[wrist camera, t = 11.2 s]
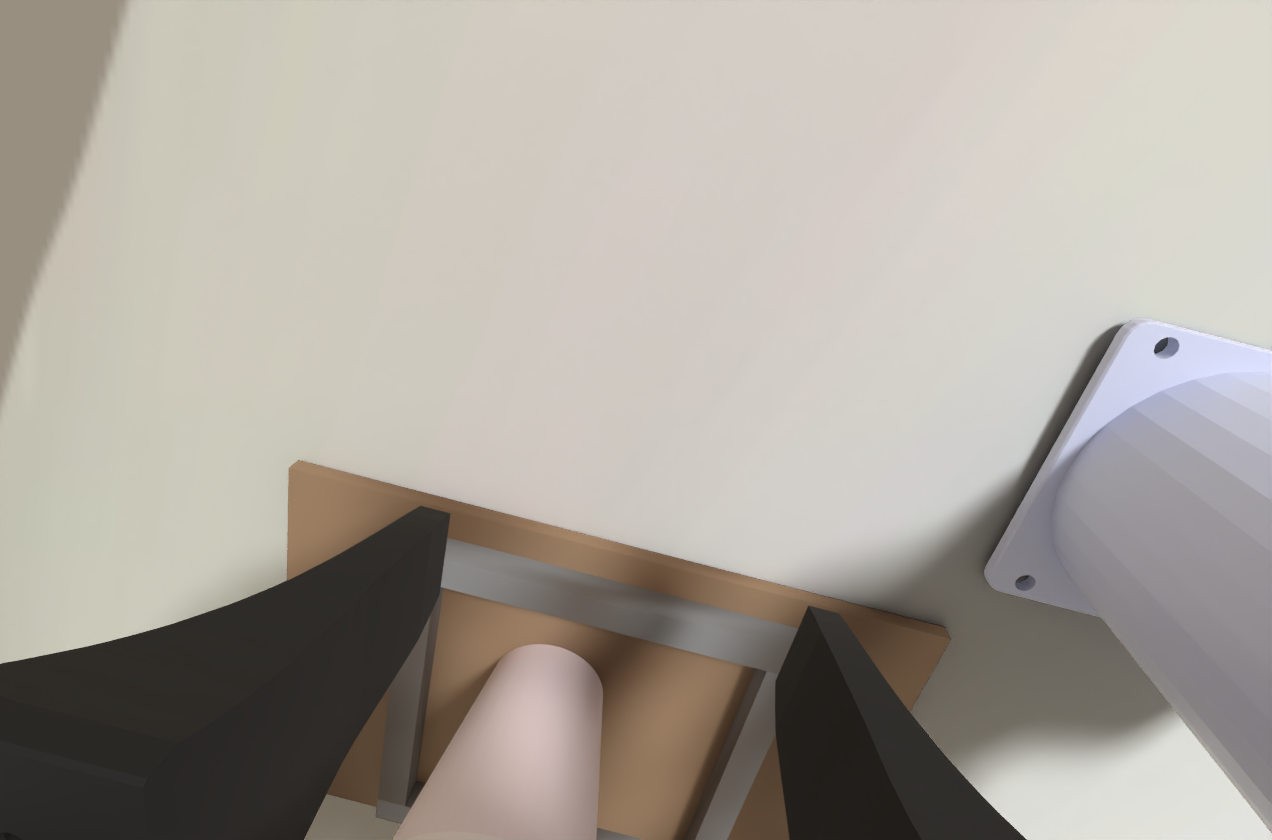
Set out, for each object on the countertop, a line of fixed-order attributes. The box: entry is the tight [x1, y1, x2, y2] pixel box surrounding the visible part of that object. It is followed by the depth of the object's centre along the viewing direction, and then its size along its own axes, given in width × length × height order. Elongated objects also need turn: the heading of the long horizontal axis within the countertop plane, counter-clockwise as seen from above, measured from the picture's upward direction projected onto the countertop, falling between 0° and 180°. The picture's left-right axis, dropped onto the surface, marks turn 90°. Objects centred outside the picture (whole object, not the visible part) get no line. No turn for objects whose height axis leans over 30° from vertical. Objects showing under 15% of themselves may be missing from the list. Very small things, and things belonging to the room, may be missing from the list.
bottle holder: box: [287, 460, 951, 840], centre depth 22 cm, size 20×14×2 cm
